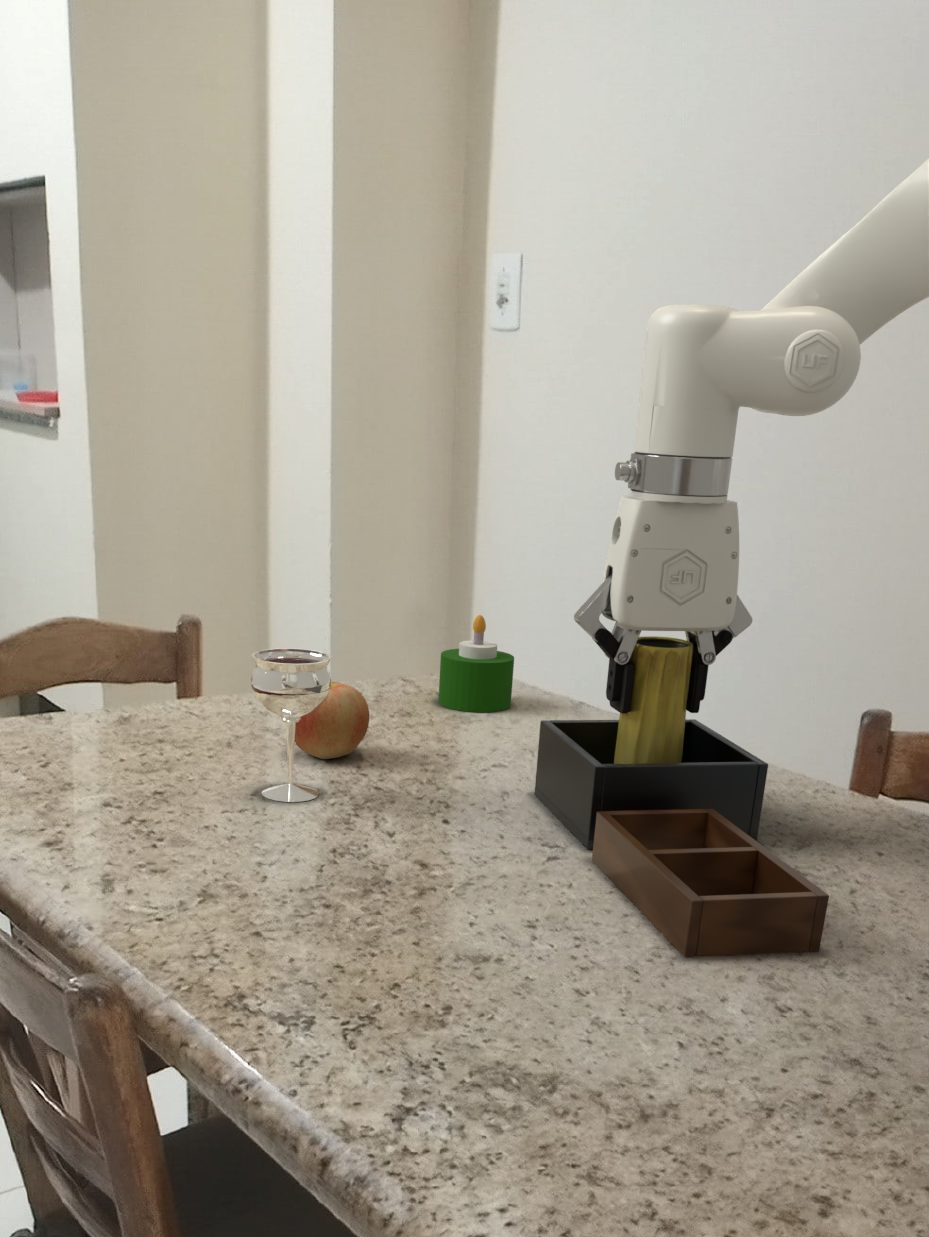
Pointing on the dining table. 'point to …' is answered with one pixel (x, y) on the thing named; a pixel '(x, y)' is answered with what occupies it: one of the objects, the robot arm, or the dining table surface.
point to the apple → (334, 724)
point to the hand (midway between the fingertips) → (653, 707)
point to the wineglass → (291, 700)
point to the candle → (476, 675)
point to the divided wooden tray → (708, 883)
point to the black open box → (644, 777)
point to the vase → (656, 702)
